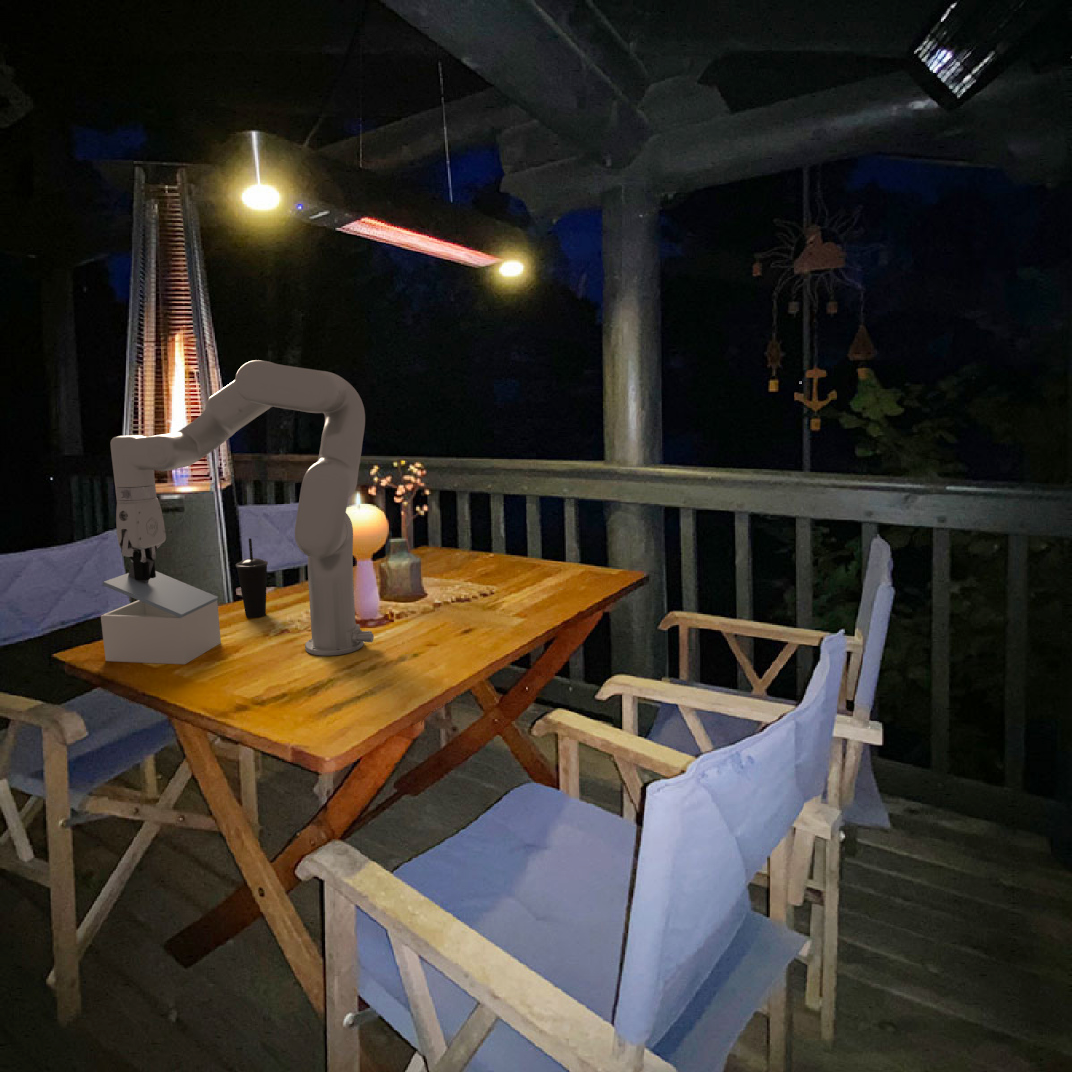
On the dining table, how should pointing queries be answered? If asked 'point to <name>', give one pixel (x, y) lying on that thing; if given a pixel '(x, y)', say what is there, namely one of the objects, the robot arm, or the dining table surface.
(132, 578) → the lid flap
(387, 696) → the dining table surface
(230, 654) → the dining table surface
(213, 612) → the carton
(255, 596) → the drinking cup
